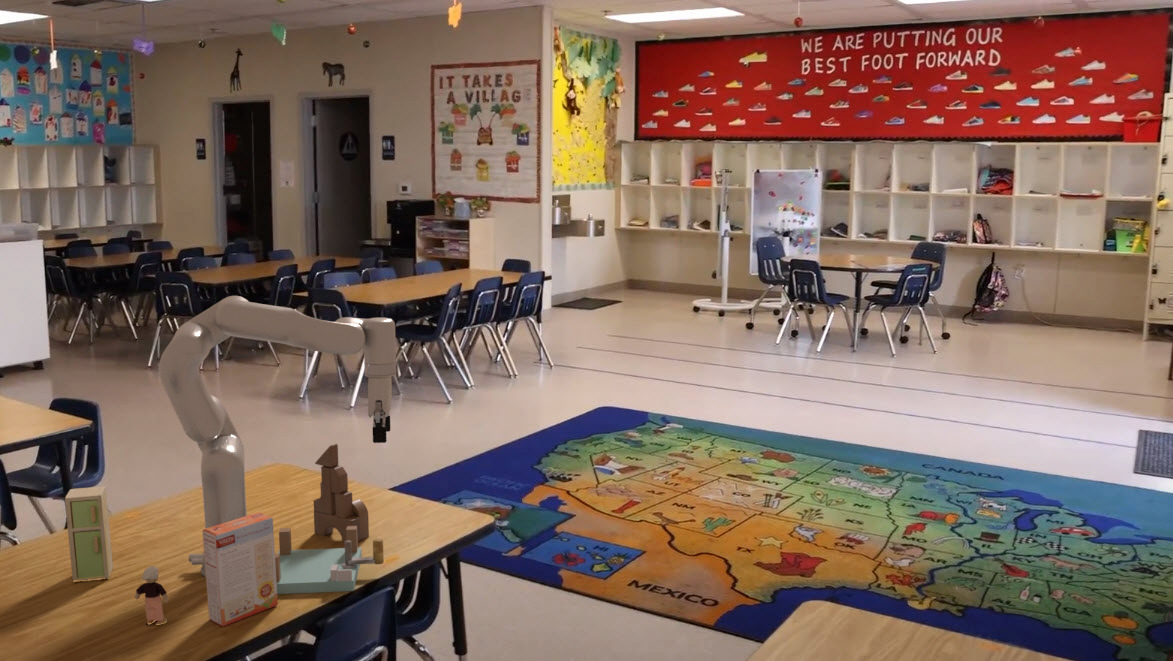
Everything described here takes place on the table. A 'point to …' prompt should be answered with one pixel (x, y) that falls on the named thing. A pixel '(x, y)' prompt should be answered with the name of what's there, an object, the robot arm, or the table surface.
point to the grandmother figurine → (152, 595)
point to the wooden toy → (337, 500)
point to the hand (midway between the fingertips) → (381, 436)
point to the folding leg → (376, 558)
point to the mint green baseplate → (315, 567)
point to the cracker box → (240, 568)
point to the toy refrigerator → (89, 533)
